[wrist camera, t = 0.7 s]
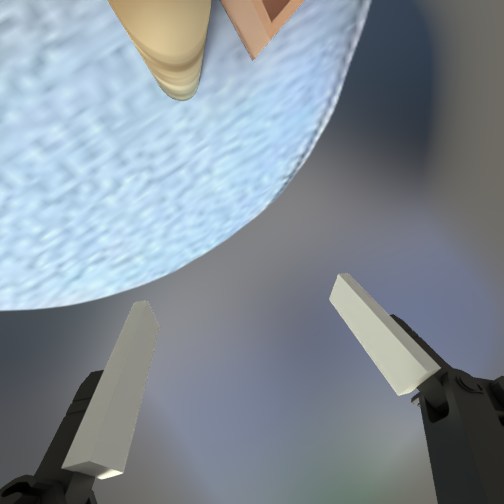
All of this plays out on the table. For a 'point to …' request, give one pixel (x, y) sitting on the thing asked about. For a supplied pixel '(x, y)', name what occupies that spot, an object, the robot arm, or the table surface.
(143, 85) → the table surface
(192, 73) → the peg
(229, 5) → the box
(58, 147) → the table surface
